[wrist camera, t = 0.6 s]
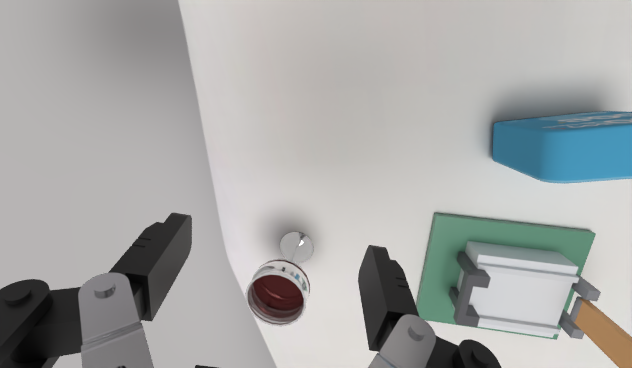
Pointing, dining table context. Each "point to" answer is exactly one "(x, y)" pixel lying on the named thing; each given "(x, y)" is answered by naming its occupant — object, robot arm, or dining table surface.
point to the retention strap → (603, 332)
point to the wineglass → (282, 284)
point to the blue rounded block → (567, 146)
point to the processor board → (492, 233)
